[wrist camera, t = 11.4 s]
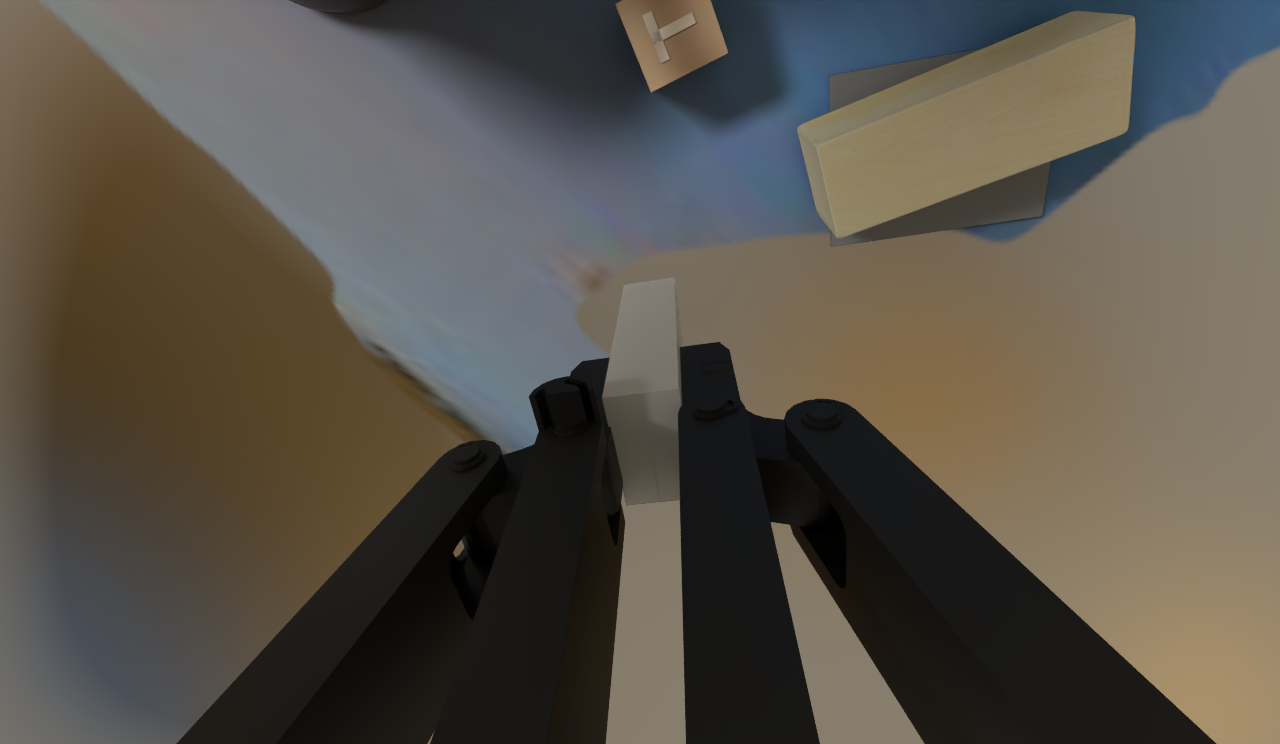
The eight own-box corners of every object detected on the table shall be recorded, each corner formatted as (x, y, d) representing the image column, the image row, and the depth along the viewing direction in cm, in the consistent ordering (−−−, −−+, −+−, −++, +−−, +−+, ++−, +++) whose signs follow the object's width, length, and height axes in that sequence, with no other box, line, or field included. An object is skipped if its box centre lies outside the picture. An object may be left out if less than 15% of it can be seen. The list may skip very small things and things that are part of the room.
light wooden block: (814, 211, 51) (1068, 112, 47) (837, 242, 45) (1132, 133, 41) (792, 124, 47) (1068, 6, 42) (814, 146, 41) (1139, 11, 36)
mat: (830, 245, 52) (831, 246, 52) (828, 75, 46) (829, 75, 46) (1039, 215, 50) (1042, 216, 50) (1068, 32, 44) (1071, 32, 44)
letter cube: (652, 89, 47) (650, 92, 42) (621, 11, 45) (615, 4, 39) (721, 54, 46) (728, 52, 40) (692, -29, 43) (696, -42, 38)
